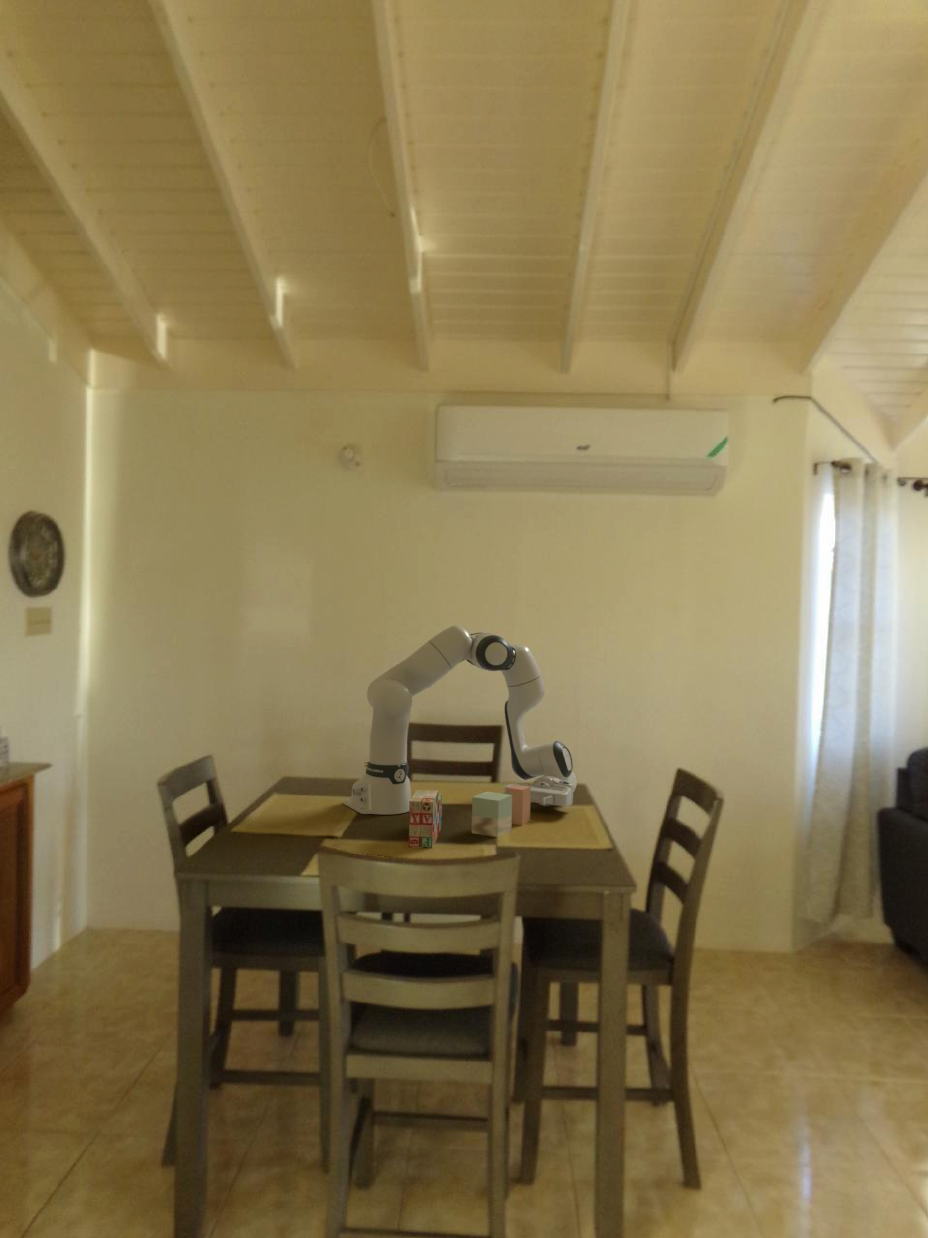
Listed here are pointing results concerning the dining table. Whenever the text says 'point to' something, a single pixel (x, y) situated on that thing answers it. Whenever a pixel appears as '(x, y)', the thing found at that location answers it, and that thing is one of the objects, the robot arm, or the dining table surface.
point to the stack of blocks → (424, 818)
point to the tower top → (492, 805)
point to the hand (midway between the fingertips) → (526, 799)
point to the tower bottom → (491, 825)
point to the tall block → (520, 803)
